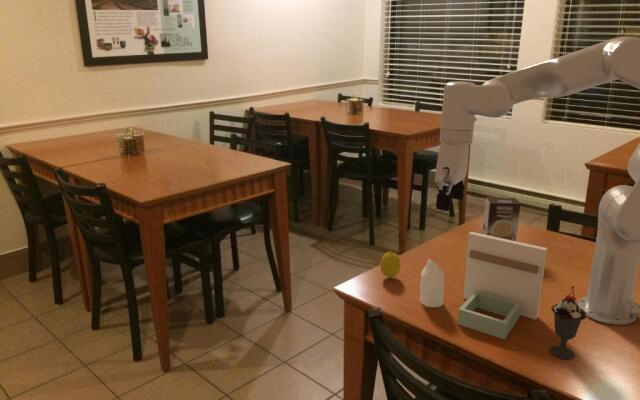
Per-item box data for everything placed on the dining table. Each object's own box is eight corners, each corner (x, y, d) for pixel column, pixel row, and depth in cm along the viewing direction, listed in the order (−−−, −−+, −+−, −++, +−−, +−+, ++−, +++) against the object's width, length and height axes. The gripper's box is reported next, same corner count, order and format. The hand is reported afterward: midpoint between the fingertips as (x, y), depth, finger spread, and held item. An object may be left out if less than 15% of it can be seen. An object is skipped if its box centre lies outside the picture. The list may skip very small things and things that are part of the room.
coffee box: (484, 252, 161) (489, 203, 156) (480, 244, 167) (485, 196, 162) (515, 253, 160) (521, 203, 155) (510, 245, 167) (515, 197, 161)
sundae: (569, 343, 115) (579, 282, 110) (585, 361, 109) (596, 297, 104) (539, 344, 115) (548, 282, 110) (553, 362, 108) (563, 298, 104)
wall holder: (537, 317, 125) (547, 248, 120) (520, 344, 115) (530, 270, 109) (465, 296, 135) (470, 231, 130) (443, 319, 125) (448, 250, 119)
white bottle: (450, 259, 129) (438, 266, 125) (446, 302, 133) (435, 310, 129) (428, 252, 133) (416, 259, 129) (426, 294, 137) (414, 302, 133)
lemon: (384, 283, 142) (385, 256, 140) (377, 275, 147) (377, 248, 145) (403, 281, 144) (404, 254, 141) (395, 272, 149) (396, 246, 146)
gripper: (453, 128, 132) (447, 192, 137) (427, 139, 118) (421, 211, 123) (482, 131, 128) (475, 197, 133) (459, 144, 114) (452, 217, 120)
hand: (449, 204), depth 128 cm, fingers open, 9 cm apart
